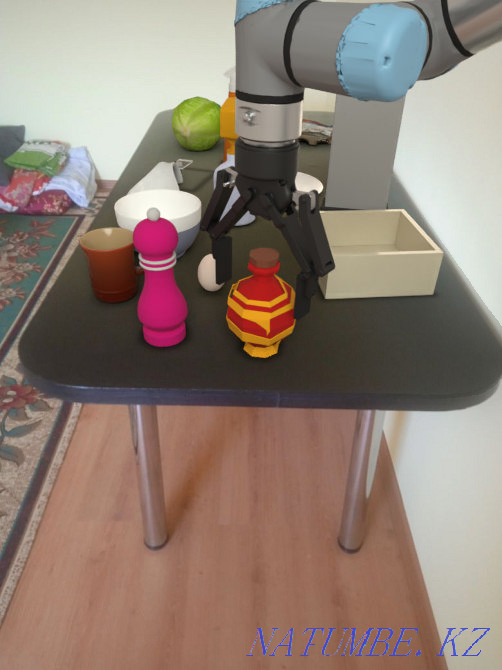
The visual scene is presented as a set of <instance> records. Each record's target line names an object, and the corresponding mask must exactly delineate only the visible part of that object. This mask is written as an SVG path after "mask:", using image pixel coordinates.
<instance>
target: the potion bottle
mask: <svg viewBox="0 0 502 670" xmlns="http://www.w3.org/2000/svg"><path fill="white" fill-rule="evenodd" d="M280 255H281V252H279V251H278V250H276V249H274V248H271V247H258V248H254V249H251V250H250V252H249V254H248V257H249V261H248V264H247V270H248V271H249V272H251V273H252V275H249V276H247V277H244V278H241V279H239V280H238V281H237V282H236V283H233V284H232V285H231V288H230V291H229V294H228V296H227V305H228V307H227V311H226V316H225V320H226V321H227V325H228V329H229V330H230V331H231V332H232V333H234V334H235V335H236V337H238V339H240V340H241V341H242V342H244V345H243V351H245V352H246V353H247V354H248V355H250V357H254V358H262V359H263V358H264V359H266V358H269V357H271V356H274V355H276V354H278V349H279V345H280V344H281V341H283V340H284V339H285V338H286V337H288V336H289V335H290V334H292V333H293V331H294V328H295V325H296V321H297V320H296V319H293V316H294V304H295V293H296V291H295V290H294V288H293V286H291V285H290V284H288V283H287V282H286V281H285V280H284V279H282V278H281V277H280V276H278V275H277V274H278V273H279V271H280V268H281V262H280V261H279V258H280ZM232 291H233V292H232Z"/></svg>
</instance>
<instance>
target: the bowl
mask: <svg viewBox="0 0 502 670" xmlns="http://www.w3.org/2000/svg"><path fill="white" fill-rule="evenodd" d="M150 208H157V209H158V210H159V211H160V217H161V218H165V219H167V220H169V221H170V222H171V223H172V224H173V225H174V226H175V228H176V230H177V232H178V237H179V239H178V245H177V247H176V249H175V250H174V251H175V253H176V257H175V258H176V260H177V259H179V258H181V257H183V256H184V255H185V253H186V251H187V250H188V249H189V248H190V247H191V246H192V245H193V244H194V242H195V239H196V238H197V235H198V234H199V231H200V223H201V221H202V201H201V200H200V198H199V197H197V195H194V194H192V193H189V192H186V191H182V190H180V191H178V190H168V189H155V190H146V191H140V192H135V193H132V194H129V195H127V194H126V195H124V196H122V197H120V198H119V199H118V200H116V201H115V203H114V206H113V209H114V214H115V218H116V222H117V225H118V226H117V227H118V228H124V229H128V230H130V231H132V232H133V231H134V228H135V227H136V225H137V224H138V223H139V222H140V221H142V220H144V219H146V218H147V215H146V214H147V211H148V209H150ZM134 252H136V253H138V254H139V253H140V252H139V251H138V250H137V249H135V250H134Z"/></svg>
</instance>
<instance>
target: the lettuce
mask: <svg viewBox="0 0 502 670" xmlns="http://www.w3.org/2000/svg"><path fill="white" fill-rule="evenodd" d="M221 107H222V105H220V104H219V103H217V102H216V101H213V100H211V99H208V98H206V97H202V96H198V95H197V96H194V97H190V98H187V99H184V100H182V101H181V102H180V103H179V104H177V106H175V107H174V108H173V111H172V115H171V130H172V132H173V134H174V137H175V138H176V139H177V141H178V143H179V144H180V145H181V146H182V147H183V148H184V149H185V150H187V151H193V152H195V151H196V152H200V151H207V150H211V149H212V148H213V147H214V146H215V145H216V144H217V143H218V142H219V141H220V140H222V138H221V136H220V109H221Z"/></svg>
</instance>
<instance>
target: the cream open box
mask: <svg viewBox="0 0 502 670" xmlns="http://www.w3.org/2000/svg"><path fill="white" fill-rule="evenodd" d="M319 211H320V215H321V218H322V222H323V225H324V228H325V232H326V235H327V239H328V242H329V246H330V249H331V252H332V256H333V259H334V263H335V269H334V270H332V271H331V272H329V273H328V274H326V275H325V276H324V277H319V281H318V287H319V288H320V290H321V292H322V296H323V297H324V299H325V300H337V299H360V298H362V299H363V298H383V297H384V298H385V297H411V296H434V294H435V293H434V292H435V289H436V285H437V281H438V277H439V273H440V270H441V265H442V262H443V258H444V254H445V253H444V251H443V250H442V249H441V248H440V247H439V246H438V245H437V244H436V243H435V241H434V240H433V239H432V238H431V237H430V235H428V233H426V232H425V230H424V229H423V228H422V227H421V226H420V225H419V224H418V223H417V222H416V220H415V219H414V218H413V217H411V215H410V214H409V213H408V212H407V211H406V210H405V209H404V208H397V209H396V208H395V209H388V210H347V211H321V210H319Z"/></svg>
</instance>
